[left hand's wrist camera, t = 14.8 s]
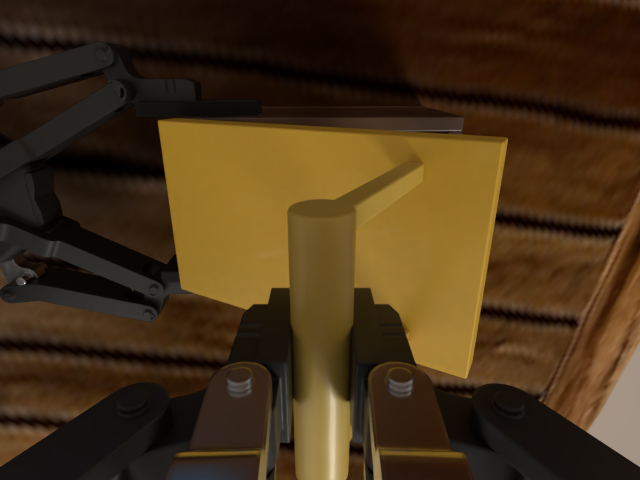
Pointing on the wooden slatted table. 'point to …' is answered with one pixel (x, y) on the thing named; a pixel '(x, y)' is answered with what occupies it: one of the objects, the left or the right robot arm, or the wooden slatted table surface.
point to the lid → (336, 245)
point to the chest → (355, 118)
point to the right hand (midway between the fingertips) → (263, 192)
